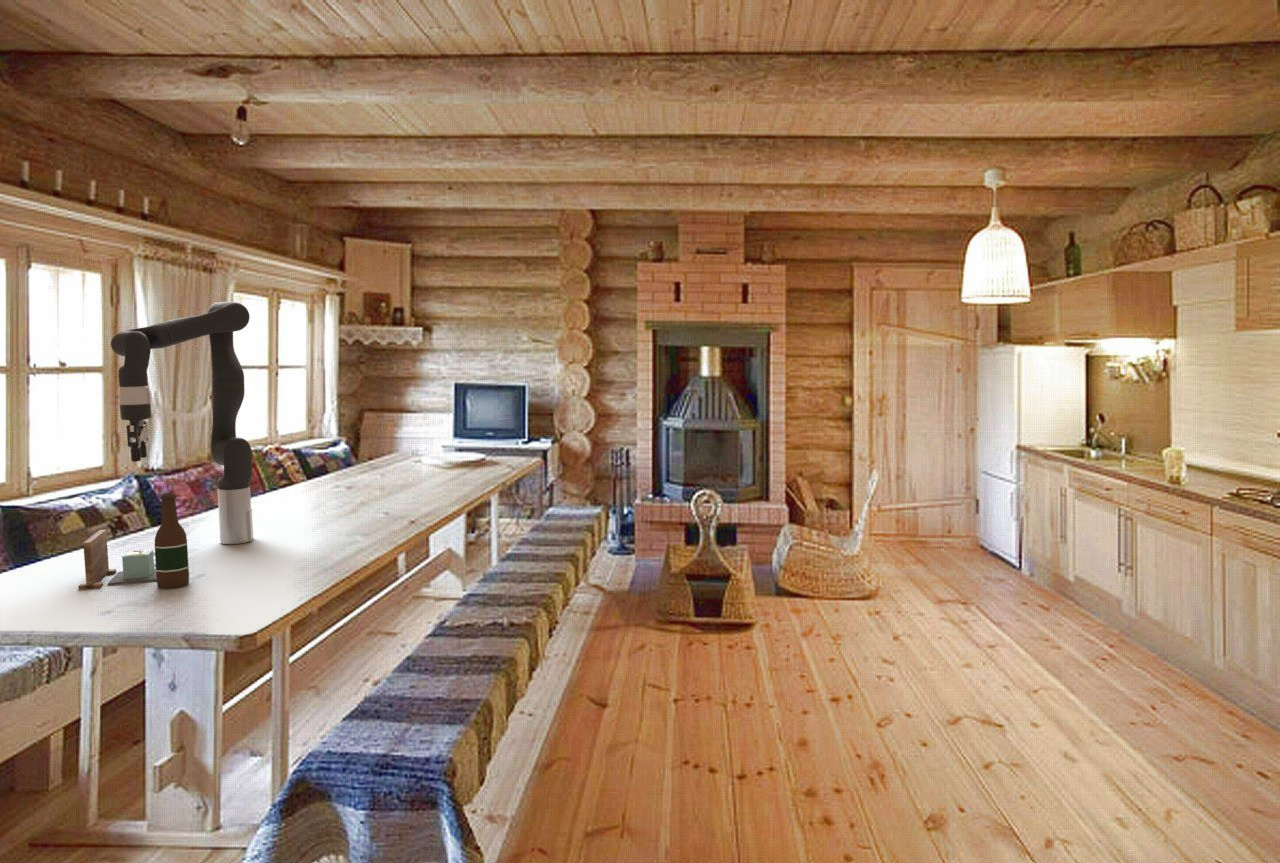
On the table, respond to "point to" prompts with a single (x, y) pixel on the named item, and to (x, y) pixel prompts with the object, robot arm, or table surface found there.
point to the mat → (131, 579)
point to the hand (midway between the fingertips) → (139, 459)
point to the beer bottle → (171, 548)
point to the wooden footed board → (96, 561)
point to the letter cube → (138, 564)
